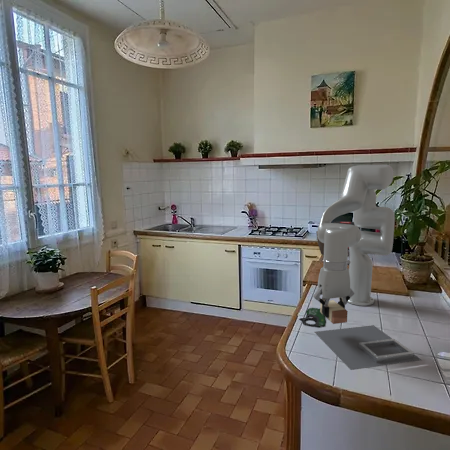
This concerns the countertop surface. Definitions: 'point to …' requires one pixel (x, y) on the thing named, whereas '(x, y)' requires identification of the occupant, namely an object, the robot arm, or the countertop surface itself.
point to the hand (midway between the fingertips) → (333, 314)
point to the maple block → (336, 312)
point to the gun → (314, 318)
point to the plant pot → (320, 246)
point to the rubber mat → (349, 346)
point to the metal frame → (391, 357)
